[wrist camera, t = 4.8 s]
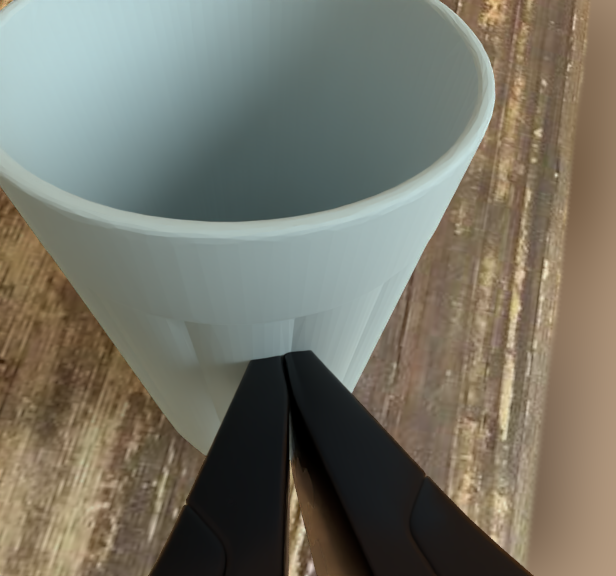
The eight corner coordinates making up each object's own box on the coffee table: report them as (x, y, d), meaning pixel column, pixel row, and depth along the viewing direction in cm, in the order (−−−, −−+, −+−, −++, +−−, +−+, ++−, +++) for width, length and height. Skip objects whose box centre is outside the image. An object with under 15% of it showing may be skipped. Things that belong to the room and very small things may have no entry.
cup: (296, 246, 20) (309, -86, 11) (436, 414, 16) (613, 101, 7) (91, 340, 17) (-92, -8, 8) (202, 570, 13) (68, 350, 5)
